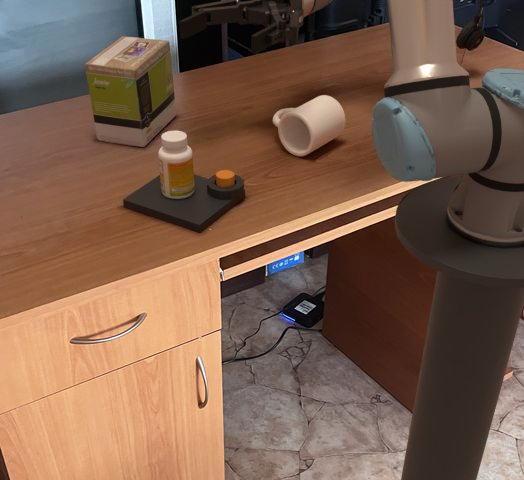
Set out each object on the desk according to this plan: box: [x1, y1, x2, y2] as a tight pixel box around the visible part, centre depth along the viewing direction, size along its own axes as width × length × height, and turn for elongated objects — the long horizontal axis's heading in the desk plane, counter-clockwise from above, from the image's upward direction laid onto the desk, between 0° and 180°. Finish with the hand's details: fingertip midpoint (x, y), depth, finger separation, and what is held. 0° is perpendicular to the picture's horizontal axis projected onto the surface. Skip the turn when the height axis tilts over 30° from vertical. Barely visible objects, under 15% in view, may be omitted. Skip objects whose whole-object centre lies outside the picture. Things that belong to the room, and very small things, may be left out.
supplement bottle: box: [157, 130, 195, 199], centre depth 124 cm, size 5×5×10 cm
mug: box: [272, 94, 347, 157], centre depth 142 cm, size 12×10×8 cm
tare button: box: [215, 169, 236, 187], centre depth 127 cm, size 3×3×2 cm
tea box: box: [85, 35, 177, 148], centre depth 144 cm, size 15×10×15 cm, turn 161°
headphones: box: [455, 0, 486, 67], centre depth 165 cm, size 15×11×20 cm
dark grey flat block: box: [122, 173, 246, 233], centre depth 127 cm, size 15×14×3 cm
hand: (216, 37), depth 124 cm, fingers open, 13 cm apart
